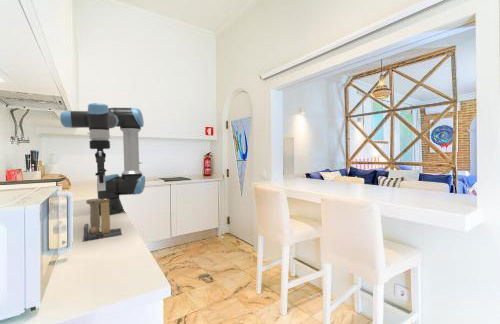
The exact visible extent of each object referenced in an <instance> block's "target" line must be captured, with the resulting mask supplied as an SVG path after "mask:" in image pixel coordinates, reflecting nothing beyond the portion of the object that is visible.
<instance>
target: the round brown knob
mask: <svg viewBox="0 0 500 324" xmlns="http://www.w3.org/2000/svg"><path fill="white" fill-rule="evenodd" d="M99 232H100V227H99V228H98V227H92V228H89V229H88V233H89V234H92V233H97V235H98V234H99Z"/></svg>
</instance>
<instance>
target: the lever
mask: <svg viewBox="0 0 500 324" xmlns="http://www.w3.org/2000/svg"><path fill="white" fill-rule="evenodd" d="M100 203H101V215H100V227H101V232H102V235H104V234H108V233H110V230H111V218H110V214H109V198H104V199H100Z"/></svg>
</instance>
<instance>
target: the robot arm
mask: <svg viewBox="0 0 500 324" xmlns="http://www.w3.org/2000/svg"><path fill="white" fill-rule="evenodd" d="M59 119H60V123H61V125H62V126H63V127H65V128H71V129H73V128H75V129H76V128H77V129H78V128H86V129H88V130H89V131H87V135H89V136H88V137H89V139H90V140H89V149H90V150H96V153H94V157H95V162H96V167H97V169H96V170H97V172H96V173H95V176H97V183H96V185H97V199H104V198H109V214H110V215H116V214H120V213H122V212H124V206H123V204H122V202H121V199H120V196H127V195H129V196H130V195H133V196H136V195H141V194H142V193H143V192H144V190H145V185H146V177H145V175H143V172H142V171H141V170H140V154H139V153H140V151H139V150H140V148H139V147H140V143H139V133H140V131H141V130H142V129H141V128H143V127H144V125H145V124H144V121H145V120H144V117H143V113H142V111H141V109H140V108H137V107H109V106H108V105H107V104H105V103H99V102H98V103H97V102H92V103H88V105H87V110H63V111H62V112H61V113H60V116H59ZM117 127H118V128H119V129H120V131H121V132H122V141H123V171H122V172H121V175H120V174H119V173H116V174H115V173H114V174H107V175H106V172H107V169H106V168H105V163H106V158H107V156H106V152H104V150H110V148H111V144H110V143H111V141H110V139H111V137H110V133H111V132H110V129H114V128H117ZM99 215H100V216H101V203H99Z"/></svg>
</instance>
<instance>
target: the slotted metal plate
mask: <svg viewBox="0 0 500 324" xmlns="http://www.w3.org/2000/svg"><path fill="white" fill-rule="evenodd" d="M118 236H123V234H122V229H121V227H120V228H114V229H110V233H108V234H104V235H102V232H101V231H100V232H99V234H98V235H97V233H92V234H89V223H84V226H83V237H82V240H81V242H90V241H96V240H102V239H107V238H113V237H114V238H115V237H118Z"/></svg>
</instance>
